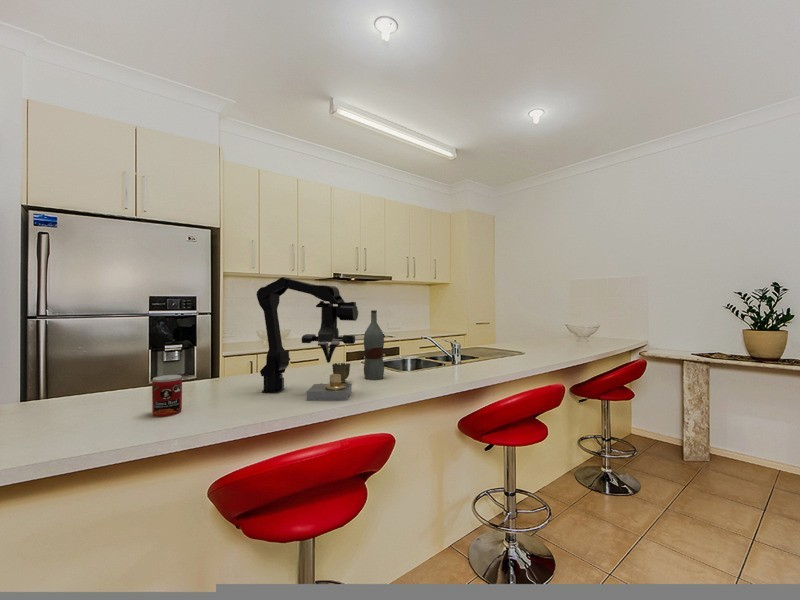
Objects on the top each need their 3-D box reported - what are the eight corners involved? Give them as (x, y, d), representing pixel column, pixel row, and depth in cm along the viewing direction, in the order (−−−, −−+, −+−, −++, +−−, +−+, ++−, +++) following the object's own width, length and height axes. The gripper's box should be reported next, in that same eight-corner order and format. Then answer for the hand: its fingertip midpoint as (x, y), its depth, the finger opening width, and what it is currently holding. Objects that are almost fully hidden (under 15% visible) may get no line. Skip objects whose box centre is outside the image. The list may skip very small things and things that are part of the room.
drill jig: (306, 400, 128) (306, 391, 128) (314, 391, 140) (314, 383, 140) (347, 400, 128) (347, 391, 128) (351, 391, 140) (351, 383, 140)
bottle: (362, 376, 169) (362, 310, 169) (381, 375, 171) (381, 310, 171) (365, 380, 160) (365, 310, 160) (386, 379, 162) (386, 310, 162)
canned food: (150, 418, 108) (150, 380, 108) (153, 411, 115) (154, 376, 115) (181, 415, 112) (181, 378, 112) (182, 408, 119) (182, 373, 119)
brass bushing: (323, 397, 131) (323, 377, 131) (327, 392, 138) (327, 373, 138) (344, 397, 131) (344, 377, 131) (346, 392, 138) (346, 373, 138)
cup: (348, 385, 151) (348, 365, 152) (330, 385, 152) (330, 365, 152) (351, 381, 159) (351, 362, 159) (334, 381, 159) (334, 362, 159)
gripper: (297, 320, 129) (297, 366, 129) (351, 321, 129) (351, 366, 129) (305, 319, 140) (305, 360, 140) (355, 319, 140) (354, 361, 140)
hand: (328, 362), depth 137 cm, fingers closed
